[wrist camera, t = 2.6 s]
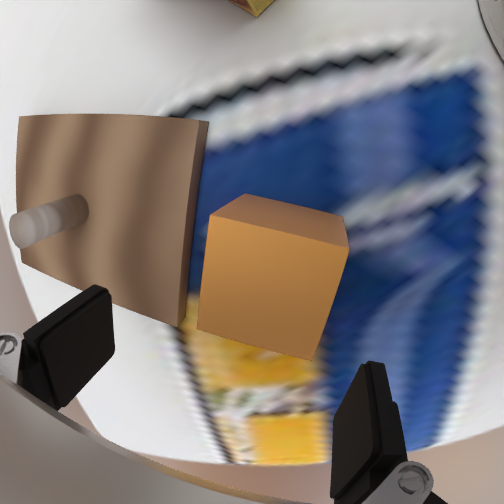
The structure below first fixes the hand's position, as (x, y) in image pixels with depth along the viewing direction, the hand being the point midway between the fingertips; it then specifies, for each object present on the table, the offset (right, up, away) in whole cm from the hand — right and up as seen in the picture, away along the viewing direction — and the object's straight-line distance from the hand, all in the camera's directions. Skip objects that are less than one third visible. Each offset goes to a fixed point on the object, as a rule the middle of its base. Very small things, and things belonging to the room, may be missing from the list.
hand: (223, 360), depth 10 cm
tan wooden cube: (+3, +4, +9) cm, 10 cm away
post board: (-11, +7, +11) cm, 18 cm away
